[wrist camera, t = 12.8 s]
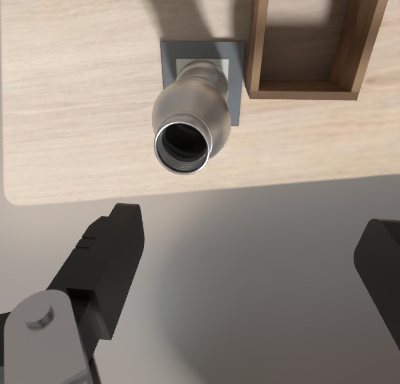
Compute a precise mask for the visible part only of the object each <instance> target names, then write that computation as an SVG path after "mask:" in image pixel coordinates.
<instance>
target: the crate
mask: <svg viewBox="0 0 400 384" xmlns="http://www.w3.org/2000/svg"><path fill="white" fill-rule="evenodd" d="M387 2H388V0H349V4H348V8H347V12H346V16H345V20H344V24H343V28H342V32H341V36H340V40H339V44H338V48H337V52H336V56H335V60H334V64H333V68H332V72H331V76H330V80H329V81H273V80H259V79H260V70H261V61H262V52H263V44H264V35H265V26H266V17H267V8H268V0H253V5H252V17H251V28H250V40H249V51H248V63H247V74H246V86H245V87H246V90H247V93H248V95H249V98H250V99H297V100H357V98H358V94H359V91H360V88H361V85H362V82H363V78H364V75H365V72H366V69H367V66H368V62H369V59H370V56H371V53H372V50H373V46H374V43H375V40H376V37H377V34H378V31H379V27H380V24H381V21H382V18H383V15H384V11H385V8H386V5H387Z"/></svg>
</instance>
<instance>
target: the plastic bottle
mask: <svg viewBox="0 0 400 384" xmlns="http://www.w3.org/2000/svg"><path fill="white" fill-rule="evenodd" d="M228 95H229V85H228V81H227V78H226V76H225V74H224V73H223V71H222V70H221V69H220V68H219V67H218V66H217V65H216V64H214V63H212V62H210V61H207V60H195V61H192V62H189V63H188V64H186V65H185V66H184V67H183V68H182V69H181V70H180V72H179V73H178V75H177V78H176V81H175V82H174V83H172V84H171V85H169V86H168V87H166V88H165V89H164V90H163V91H162V92H161V93H160V94H159V96H158V97H157V99H156V101H155V104H154V106H153V111H152V125H153V130H154V134H155V140H154V150H155V154H156V156H157V159H158V160H159V162H160V163H161V164H162V165H163V166H164V167H165V168H166V169H167V170H169V171H171V172H173V173H176V174H180V175H190V174H194V173H196V172H198V171H199V170H201V169H202V168H203V167H204V166H205V165H206V163H207V161H208V160H209V159H210V158H212V157H213V156H215V155H216V154H217V153H218V152H219V151H220V150H221V149H222V148H223V147H224V145H225V143H226V142H227V140H228V137H229V134H230V130H231V116H230V112H229V109H228V106H227V100H228Z"/></svg>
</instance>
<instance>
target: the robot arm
mask: <svg viewBox="0 0 400 384" xmlns="http://www.w3.org/2000/svg"><path fill="white" fill-rule="evenodd" d="M144 239H145V238H144V230H143V222H142V215H141V210H140V206H139V205H138V204H124V203H117V204H116V205H115V207H114V208H113V210H112V212H111V213H110V215H109V217H105V216H101V217H100V218H99V219H97V220H96V221H95V222H93V223H92V224H91V225H89V227H88V228H87V230H86V231H85V233H84V234H83V236H82V239H80V240H79V242H78V243H77V245H76V248H75V249H73V251H72V252H71V254H70V256H69V257H68V259H67V260H66V261H65V263H64V264H63V266H62V267H61V269H60V270H59V272H58V273H57V275H56V276H55V278H54V279H53V281H52V282H51V284H50V285H49V287H48V288H47V289H46V290H45V291H41V292H38V293H36V294H33V295H31V296H30V297H28V298H26V299H25V300H23V301H22V302H21V303H19V304H18V305H17V306H16V307H15V308H14V309H13V311H12V312H8V313H4V314H0V384H102V383H101V379H100V376H99V372H98V368H97V365H96V361H95V357H94V355H93V353H94V351H95V348H96V346H97V343H98V341H99V339H104V340H111V339H112V337H113V334H114V331H115V328H116V325H117V323H118V320H119V317H120V314H121V311H122V309H123V306H124V303H125V300H126V298H127V295H128V292H129V289H130V286H131V284H132V281H133V278H134V275H135V272H136V270H137V267H138V264H139V261H140V259H141V256H142V253H143V249H144ZM354 265H355V268H356V270H357V272H358V273H359V275H360V277H361V279H362V281H363V283H364V285H365V286H366V288H367V290H368V292H369V294H370V296H371V298H372V299H373V301H374V303H375V305H376V307H377V309H378V311H379V313H380V314H381V316H382V318H383V320H384V322H385V324H386V326H387V328H388V329H389V331H390V333H391V335H392V337H393V339H394V340H395V342H396V344H397V346H398V348H399V350H400V221H399V220H388V219H371V220H370V221H369V222H368V224H367V226H366V228H365V230H364V232H363V234H362V236H361V238H360V241H359V243H358V245H357V247H356V249H355V251H354Z"/></svg>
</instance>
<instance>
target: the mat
mask: <svg viewBox="0 0 400 384" xmlns="http://www.w3.org/2000/svg"><path fill="white" fill-rule="evenodd" d="M244 52H245V42H161V56H162V69H163V83H164V89H165V88H166V87H168V86H169V85H171V84H172V83H174V82H175V81H176V78H177V75H178V73H179V72H180V70H181V69H182V68H183V67H184V66H185V65H186V64H188V63H189V62H192V61H195V60H207V61H210V62H212V63H214V64H216V65H217V66H218V67H219V68H220V69H221V70H222V71H223V73H224V74H225V76H226V78H227V81H228V85H229V95H228V100H227V106H228V109H229V112H230V116H231V126H239V115H240V102H241V90H242V77H243V64H244Z"/></svg>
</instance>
